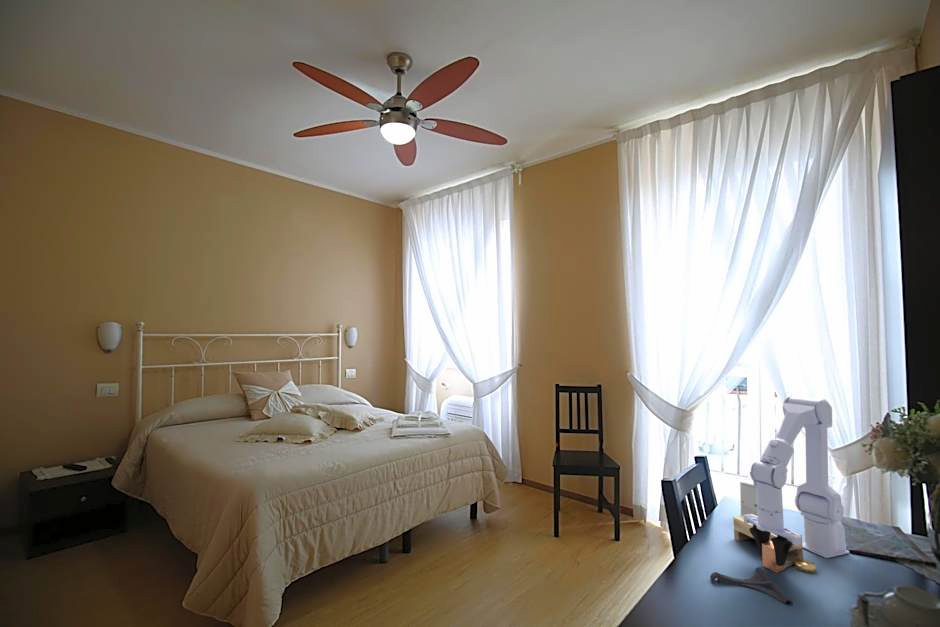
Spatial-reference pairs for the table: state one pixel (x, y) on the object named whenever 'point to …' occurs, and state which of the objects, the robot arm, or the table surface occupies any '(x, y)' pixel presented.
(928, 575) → the table surface
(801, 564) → the token
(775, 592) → the bracket
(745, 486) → the skincare box
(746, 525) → the wooden plank block
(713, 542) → the table surface
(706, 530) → the table surface
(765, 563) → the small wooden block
